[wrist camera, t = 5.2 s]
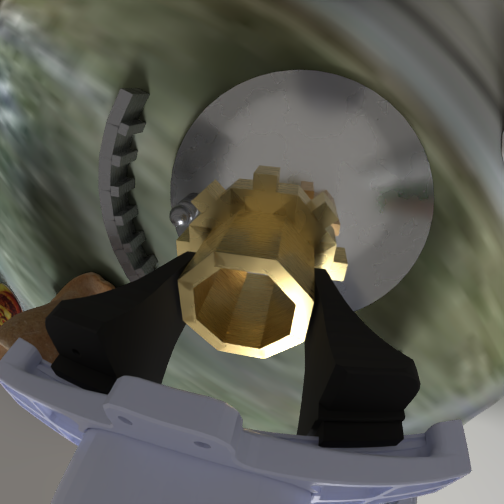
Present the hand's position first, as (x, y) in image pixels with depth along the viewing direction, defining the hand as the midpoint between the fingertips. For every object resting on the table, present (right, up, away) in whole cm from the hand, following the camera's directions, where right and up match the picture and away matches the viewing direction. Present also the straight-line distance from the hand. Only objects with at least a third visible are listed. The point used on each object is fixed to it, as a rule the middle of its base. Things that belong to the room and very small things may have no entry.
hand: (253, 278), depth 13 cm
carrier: (+1, +5, +8) cm, 9 cm away
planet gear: (+1, +2, +2) cm, 3 cm away
